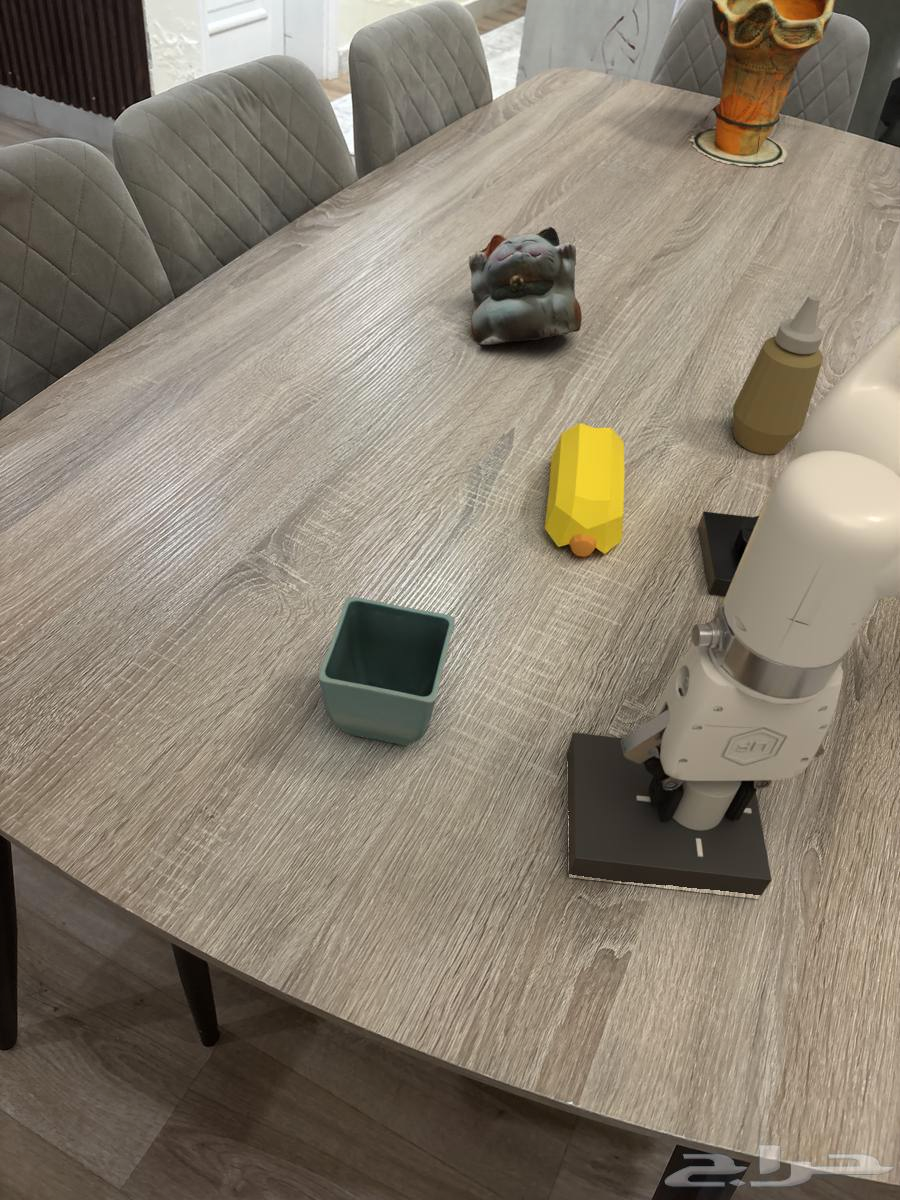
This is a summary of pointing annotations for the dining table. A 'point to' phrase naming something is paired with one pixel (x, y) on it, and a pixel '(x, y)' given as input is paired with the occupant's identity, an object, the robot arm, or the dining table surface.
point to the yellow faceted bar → (586, 490)
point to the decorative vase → (758, 74)
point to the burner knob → (705, 803)
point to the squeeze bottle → (780, 384)
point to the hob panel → (652, 829)
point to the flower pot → (384, 669)
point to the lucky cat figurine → (524, 288)
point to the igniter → (723, 547)
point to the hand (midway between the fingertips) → (695, 802)
